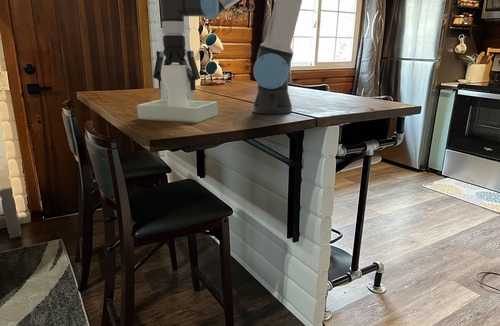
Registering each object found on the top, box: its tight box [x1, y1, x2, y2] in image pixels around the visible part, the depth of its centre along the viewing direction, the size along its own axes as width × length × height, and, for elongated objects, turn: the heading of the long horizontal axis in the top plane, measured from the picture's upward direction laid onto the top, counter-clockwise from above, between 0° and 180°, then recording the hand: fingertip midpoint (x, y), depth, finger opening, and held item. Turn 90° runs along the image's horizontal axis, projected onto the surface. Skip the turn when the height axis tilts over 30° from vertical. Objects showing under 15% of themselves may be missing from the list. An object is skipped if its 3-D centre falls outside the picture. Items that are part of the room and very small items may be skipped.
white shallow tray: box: [136, 98, 219, 124], centre depth 140 cm, size 24×16×5 cm, turn 69°
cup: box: [161, 63, 191, 107], centre depth 138 cm, size 11×11×15 cm
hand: (177, 99), depth 139 cm, fingers closed on cup, 10 cm apart
